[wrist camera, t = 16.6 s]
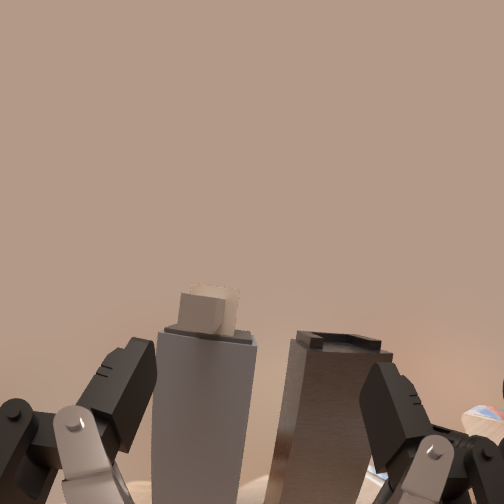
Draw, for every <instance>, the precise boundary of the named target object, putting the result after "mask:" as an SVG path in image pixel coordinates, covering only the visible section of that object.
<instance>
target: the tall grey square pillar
mask: <svg viewBox="0 0 504 504" xmlns="http://www.w3.org/2000/svg"><path fill="white" fill-rule="evenodd" d="M256 353H257V344H256V341H255V338H254V336H253V335H251V333H250V331H241V330H235V331H234V335H233V336H227V335H219V334H207V333H200V332H194V331H187V330H181V329H177V324H175V325H171V326H169V327H165V329H164V330H163V331H160V332H158V340H157V349H156V364H157V382H156V385H155V388H154V390H153V407H152V439H151V440H152V441H151V475H152V477H151V480H152V504H236V500H237V493H238V486H239V479H240V472H241V465H242V459H243V452H244V444H245V437H246V430H247V423H248V415H249V408H250V400H251V393H252V385H253V377H254V369H255V362H256Z"/></svg>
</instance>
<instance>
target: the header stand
mask: <svg viewBox="0 0 504 504" xmlns="http://www.w3.org/2000/svg"><path fill="white" fill-rule="evenodd" d="M380 348H381V340H376V339H372V338H368V337H364V336H360V335H356V334H337V333H322V332H308V331H297V336H296V339H291V342H290V350H289V358H288V365H287V373H286V379H285V386H284V393H283V400H282V406H281V412H280V418H279V424H278V430H277V436H276V442H275V448H274V454H273V459H272V464H271V470H270V475H269V480H268V485H267V490H266V495H265V500H264V504H355V503H356V500H357V498H358V495H359V492H360V489H361V486H362V483H363V480H364V477H365V474H366V471H367V468H368V465H369V462H370V458H371V455H372V453H371V449H370V445H369V440H368V436H367V432H366V429H365V425H364V421H363V417H362V413H361V409H360V406H359V395H360V391H361V389H362V387H363V385H364V382H365V380H366V378H367V376H368V374H369V371H370V369H371V367H372V365H373V364H374V363H392V359H393V353H390V352H387V351H384V350H381V349H380Z"/></svg>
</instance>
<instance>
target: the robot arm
mask: <svg viewBox="0 0 504 504" xmlns="http://www.w3.org/2000/svg"><path fill="white" fill-rule="evenodd" d="M156 382H157V364H156V356H155V348H154V343H153V341H150V340H146V339H141V338H136V337H132V338H131V339H130V341H129V343H128V344H127V346H126V347H125V349H122V348H117V349H115V350H114V351H112V352H111V353H109V354H108V355H107V356H106V358H105V359H104V361H103V362H102V364H101V367H99V369H98V370H97V372H96V375H94V376H93V378H92V380H91V381H90V383H89V384H88V386H87V388H86V389H85V391H84V392H83V394H82V396H81V397H80V399H79V400H78V402H77V403H76V405H72V406H67V407H65V408H62V409H61V410H60V411H59V412H58V413H57V414H53V413H44V412H36V411H33V410H32V408H31V406H30V405H29V404H28V402H26V401H25V400H23V399H18V398H14V399H10V400H8V401H6V402H5V403H3V404H2V406H1V407H0V504H45V503H46V500H47V498H48V495H49V492H50V490H51V487H52V485H53V482H54V479H55V477H56V475H57V472H58V470H59V469H63V472H64V475H65V480H62V490H63V493H64V497H65V500H66V503H67V504H135V503H134V501H133V499H132V497H131V495H130V493H129V491H128V489H127V487H126V485H125V482H124V480H123V478H122V475H121V473H120V471H119V468H118V466H117V463H116V462H115V457H116V455H117V452H118V451H121V452H125V453H129V450H130V447H131V445H132V442H133V440H134V437H135V435H136V432H137V430H138V427H139V425H140V422H141V420H142V417H143V415H144V412H145V410H146V407H147V405H148V403H149V400H150V397H151V395H152V393H153V390H154V388H155V385H156ZM417 395H418V394H417V392H416V390H415V388H414V385H413V384H412V383H411V382H410V381H409V380H408V379H407V378H406V377H405V376H404V375H402V376H400V374H399V372H398V369H397V367H396V365H395V364H394V363H374V364H373V365H372V367H371V369H370V371H369V374H368V376H367V378H366V380H365V382H364V385H363V387H362V389H361V391H360V395H359V406H360V409H361V413H362V417H363V421H364V425H365V429H366V432H367V436H368V440H369V445H370V449H371V453H372V457H373V461H374V466H375V470H376V474H379V473H385V472H387V473H388V477H389V478H388V479H387V480H386V481H385V483H384V485H383V486H382V488H381V490H380V492H379V493H378V495H377V497H376V498H375V500H374V502H373V503H372V504H472V502H471V499H470V495H469V492H468V490H469V489H470V488H472V489H473V492H474V495H475V501H474V502H473V504H504V438H503V439H502V440H501V442H500V444H499V446H497V445H496V444H495V443H494V442H493V441H491V440H488V439H481V440H478V441H477V442H476V443H475V444H474V445H473V446H472V447H471V448H460V447H453V446H452V444H451V443H450V442H449V441H448V440H447V439H446V438H445V437H442V436H440V435H436V434H435V432H434V430H433V428H432V425H431V423H430V421H429V418H428V416H427V414H426V411H425V409H424V407H423V405H421V400H420V398H419V396H417ZM503 398H504V381H503Z"/></svg>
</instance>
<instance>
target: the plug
mask: <svg viewBox="0 0 504 504" xmlns="http://www.w3.org/2000/svg"><path fill="white" fill-rule="evenodd" d="M238 298H239V289H234V288H226V287H218V286H211V285H203V284H195V283H192V286H191V293H190V294H185V293H181V299H180V308H179V316H178V324H177V329H181V330H187V331H194V332H200V333H207V334H219V335H227V336H233V335H234V331H235V323H236V314H237V307H238Z"/></svg>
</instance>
